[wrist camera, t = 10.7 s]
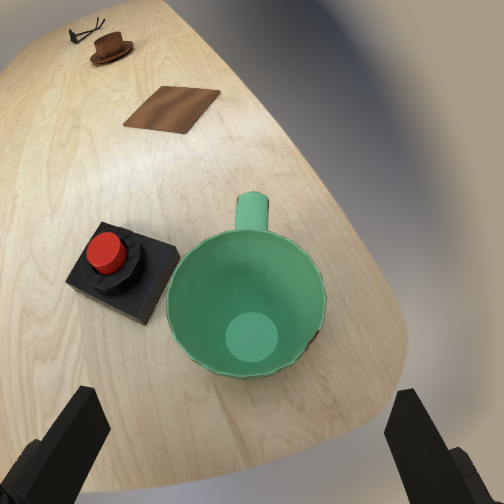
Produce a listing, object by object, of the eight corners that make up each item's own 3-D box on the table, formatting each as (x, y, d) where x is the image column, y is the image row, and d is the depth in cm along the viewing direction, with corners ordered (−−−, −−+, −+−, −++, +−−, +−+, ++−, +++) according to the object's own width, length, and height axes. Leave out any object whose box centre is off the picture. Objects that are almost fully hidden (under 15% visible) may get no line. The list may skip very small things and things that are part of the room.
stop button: (133, 247, 28) (126, 237, 27) (115, 279, 26) (107, 271, 25) (106, 237, 29) (99, 227, 27) (88, 267, 27) (80, 258, 26)
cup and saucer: (136, 55, 60) (130, 34, 55) (91, 72, 59) (84, 52, 53) (132, 43, 66) (128, 25, 61) (92, 58, 64) (86, 40, 59)
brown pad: (220, 92, 47) (220, 90, 47) (185, 134, 42) (185, 131, 41) (162, 88, 49) (161, 85, 49) (123, 126, 44) (122, 124, 44)
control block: (180, 256, 32) (170, 235, 28) (145, 326, 28) (129, 312, 24) (109, 231, 34) (95, 211, 30) (74, 290, 30) (55, 274, 27)
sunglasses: (110, 29, 79) (107, 18, 75) (73, 45, 76) (70, 34, 71) (101, 24, 87) (99, 14, 82) (69, 39, 83) (66, 29, 79)
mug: (306, 391, 24) (329, 378, 16) (193, 387, 25) (155, 371, 16) (303, 244, 32) (315, 176, 23) (207, 243, 32) (188, 176, 24)
